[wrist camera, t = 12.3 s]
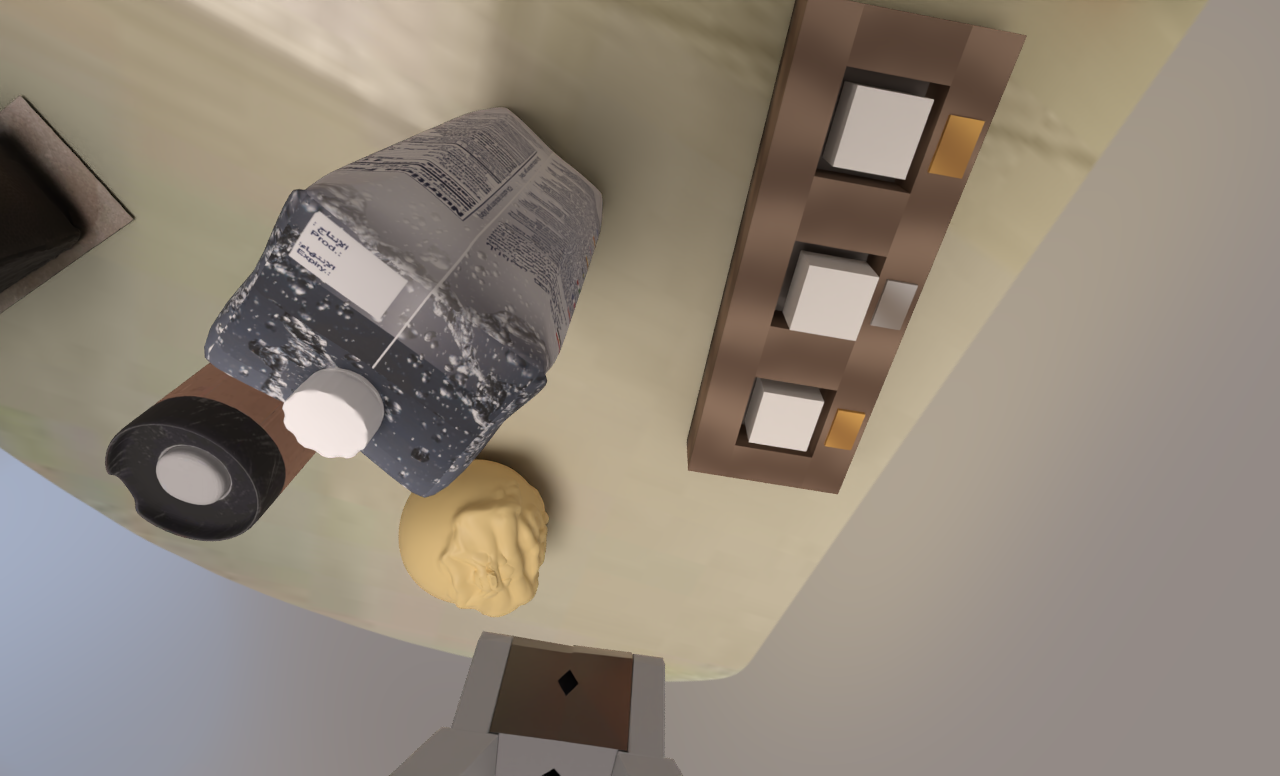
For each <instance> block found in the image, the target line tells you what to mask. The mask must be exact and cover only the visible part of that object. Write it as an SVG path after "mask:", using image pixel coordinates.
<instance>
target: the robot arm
mask: <svg viewBox="0 0 1280 776" xmlns="http://www.w3.org/2000/svg"><path fill="white" fill-rule="evenodd" d="M664 729H665V663H664V661H663V658H661V657H654V656H646V655H639V654H633V655H632V653H631V652H623V651H616V650H608V649H600V648H593V647H585V646H577V645H573V646H569V645H563V644H557V643H551V642H545V641H540V640H534V639H528V638H522V637H516V636H511V635H504V634H497V633H491V632H484V631H483V633H482V635H481V637H480V638H479V640H478V643H477V646H476V649H475V653H474V656H473V659H472V662H471V666H470V669H469V672H468V675H467V678H466V681H465V685H464V688H463V691H462V694H461V697H460V701H459V704H458V707H457V710H456V713H455V717H454V720H453V723H452V726H451V728H447V727H441V728H440V729H439V730H438V731H437V732H435V733H434V734H433V736H431V737H430V738H429V739H428V740H427V741H426V742H425V743H424V744H423V745H422V746H420V747H419V748H418V749H417V750H416V751H415V752H414V753H413V754H412V755H411V756H410V757H409V758H407V759H406V760H405V762H403V763H402V764H401V765H400V766H399V767H398V768H397V769H396V770H395V771H394V772H392V773H391V774H390V775H389V776H683V775H682V773H681V771H680V769H679V768H678V766H677V764H676V762H675V761H674V759H670V758H664V748H665V747H664V746H665V742H664V739H665V738H664V737H665V730H664Z"/></svg>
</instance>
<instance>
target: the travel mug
mask: <svg viewBox="0 0 1280 776" xmlns="http://www.w3.org/2000/svg"><path fill="white" fill-rule="evenodd" d="M283 405H284V402H281V401H279V400H277V399H275V398H273V397H271V396H269V395H267V394H265V393H263V392H261V391H259V390H257V389H255V388H253V387H251V386H249V385H247V384H245V383H243V382H241V381H239V380H237V379H236V378H234V377H232V376H230V375H228V374H226V373H225V372H223V371H221V370H219V369H218V368H216V367H215V366H214V365H212V364H211V363H209V364H208V365H206V366H205V367H204V368H202V369H201V370H200V371H198V372H197V373H196V374H194V375H193V376H192V377H190V378H189V379H188V380H186V381H185V382H184V383H182V384H181V385H180V386H178V387H177V388H176V389H174V390H173V391H172V392H170V393H169V394H168V395H166V396H165V397H164V398H162V399H161V400H160V401H159V402H157V403H156V404H155V405H153V406H152V407H151V408H149V409H148V410H147V411H145V412H144V413H143V414H141V415H140V416H139V417H137V418H136V419H135V420H133V421H132V422H131V423H129V424H128V425H127V426H125V427H124V428H123V429H122V430H121V431H120V432H119V433H118V434H116V435H115V437H114V438H113V439H112V441H111V442H110V444H109V446H108V449H107V452H106V457H105V465H106V470H107V473H108V474H110V475H115V476H117V477H119V478H120V479H121V480H122V482H123V483H124V484H125V485H126V487H127V488H128V489H129V491H130V492H131V494H132V496H133V497H134V499H135V508H136V511H137V513H138V514H139V515H140V516H141V517H142V518H144V519H145V520H146V521H148V522H150V523H151V524H153V525H155V526H156V527H159V528H161V529H163V530H165V531H167V532H170V533H172V534H175V535H178V536H181V537H184V538H189V539H193V540H201V541H221V540H226V539H230V538H233V537H236V536H238V535H240V534H242V533H244V532H246V531H247V530H248V529H250V528H251V527H252V526H253V525H254V524H255V523H256V522H257V521H258V520H259V518H260V517H261V516H262V515H263V514H264V513H265V511H266V510H267V509H268V508H269V507H270V506H271V504H272V503H273V502H274V501H275V500H276V498H277V497H278V496H279V495H280V494H281V493H282V491H283V490H284V489H285V488H286V487H287V486H288V484H289V483H290V482H291V481H292V480H293V478H294V477H295V476H296V475H297V474H298V473H299V471H300V470H301V469H302V468H303V467H304V466H305V464H306V463H307V462H308V461H309V460H310V459H311V457H312V456H313V455H314V454H315V453H316V451H315V450H312V449H309V448H305V447H304V446H302V445H301V444H300V443H299V442H298V441H297V439H296V437H295V435H294V434H293V433H292V432H290V431H289V430H288V429H287V428H286V426H285V424H284V417H285V414H284V411H283V409H282V408H283Z"/></svg>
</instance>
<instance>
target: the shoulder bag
mask: <svg viewBox="0 0 1280 776" xmlns="http://www.w3.org/2000/svg"><path fill="white" fill-rule="evenodd" d="M132 220H133V218H132V217H131V216H130V215H129V214H128V213H127V212H126V211H125V210H124V209H123V207H122V206H121V205H120V204H119V203H118V202H117V201H116V200H115V199H114V198H113V197H112V195H111V194H110V193H109V192H108V191H107V189H106V188H105V187H104V186H103V185H102V184H101V183H100V182H99V181H98V180H97V179H96V178H95V176H94V175H93V174H92V173H91V172H90V171H89V170H88V169H87V168H86V167H85V166H84V164H83V163H82V162H81V161H80V160H79V158H78V157H77V156H76V155H75V154H74V153H73V152H72V151H71V150H70V149H69V148H68V147H67V146H66V145H65V144H64V142H63V141H62V140H61V139H60V138H59V137H58V136H57V135H56V134H55V133H54V132H53V130H52V129H51V128H50V127H49V126H48V125H47V124H46V123H45V122H44V121H43V120H42V119H41V118H40V116H39V115H38V114H37V113H36V112H35V111H34V110H33V109H32V108H31V107H30V106H29V105H28V103H27V102H26V101H25V100H24V99H23V98H22V97H21V96H19V97H18V98H16V99H15V100H14V101H13V102H12V103H10V104H9V105H8V106H7V107H5V108H4V109H3V110H2V111H1V112H0V313H1V312H3V311H4V310H6V309H7V308H9V307H10V306H12V305H13V304H14V303H16V302H17V301H19V300H20V299H22V298H23V297H24V296H26V295H27V294H28V293H30V292H31V291H33V290H34V289H36V288H37V287H38V286H40V285H41V284H42V283H44V282H45V281H47V280H48V279H50V278H51V277H52V276H54V275H55V274H57V273H58V272H59V271H61V270H62V269H64V268H65V267H67V266H68V265H69V264H71V263H72V262H74V261H75V260H76V259H78V258H79V257H81V256H82V255H83V254H85V253H86V252H88V251H89V250H90V249H92V248H94V247H95V246H96V245H98V244H99V243H101V242H102V241H104V240H105V239H107V238H108V237H109V236H111V235H112V234H114V233H115V232H117V231H118V230H119V229H121V228H122V227H124V226H125V225H126V224H128V223H129V222H131V221H132Z"/></svg>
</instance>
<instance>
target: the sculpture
mask: <svg viewBox="0 0 1280 776" xmlns="http://www.w3.org/2000/svg"><path fill="white" fill-rule="evenodd" d="M548 521H549V516H548V514H547V513H546V512H545V507H544V503H543V500H542V498H541V496H540V494H539V492H538V490H537V489H536V488H534V487H532V486H531V485H529V484H528V482H527V481H526V480H525V479H524V478H523V477H522V476H521V475H520V474H518V473H517V472H516V471H514V470H513V469H511V468H509V467H507V466H505V465H503V464H500V463H497V462H493V461H488V460H479V459H474V460H473V461H472V463H471V464H470V465H469V466H468V467H467V468H466V469H465V471H464V472H462V473H461V474H460V475H459V476H458V477H457V478H456V479H455V480H454V481H453V482H452V483H451V484H450V485H449V486H447V487H446V488H444V489H443V490H441V491H439V492H438V493H436V494H435V495H432V496H429V497H426V498H424V497H421V496H419V495H417V494H414V493H413V492H412V493H411V495H410V496H409V498H408V500H407V502H406V504H405V506H404V509H403V512H402V515H401V519H400V525H399V548H400V553H401V557H402V560H403V563H404V565H405V568H406V569H407V571H408V573H409V575H410V576H411V577H412V579H413V580H414V581H415V582H416V583H417V584H418V585H419V586H420V587H421V588H422V589H423V590H424V591H426V592H427V593H429V594H430V595H432V596H434V597H436V598H438V599H441V600H443V601H447V602H450V603H455V604H456V606H457V607H458V608H461V609H476V610H478V611H479V612H481V613H482V614H484V615H487V616H490V617H500V616H504V615H506V614H508V613H510V612H512V611H514V610H515V609H517V608H518V607H519V606H521V605H524V604H526V603H528V602H529V601H531V600H532V599H533V597H534V596H535V594H536V591H537V588H538V577H539V572H538V570H539V567H540V566H541V565H542V564H543V562H544V557H545V552H546V535H547V527H546V524H547V523H548Z"/></svg>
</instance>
